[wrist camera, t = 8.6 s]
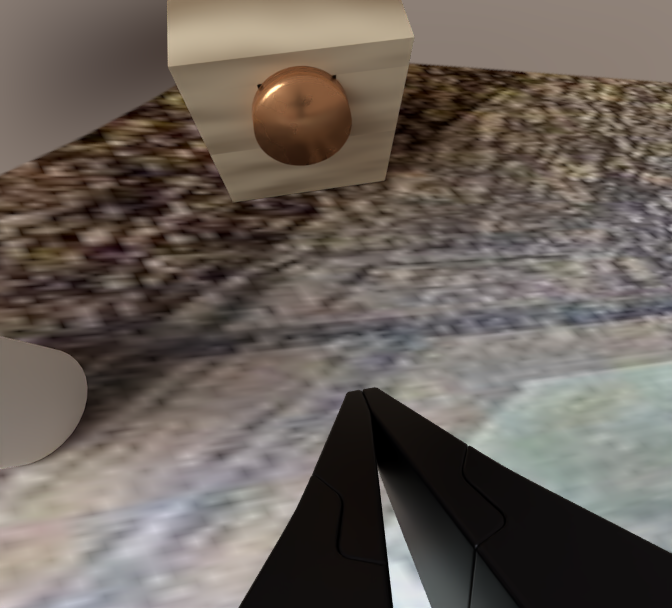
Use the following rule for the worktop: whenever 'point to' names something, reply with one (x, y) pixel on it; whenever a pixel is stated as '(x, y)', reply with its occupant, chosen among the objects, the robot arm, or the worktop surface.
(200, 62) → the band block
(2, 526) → the worktop surface
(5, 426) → the cylindrical container
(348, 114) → the peg
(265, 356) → the worktop surface
